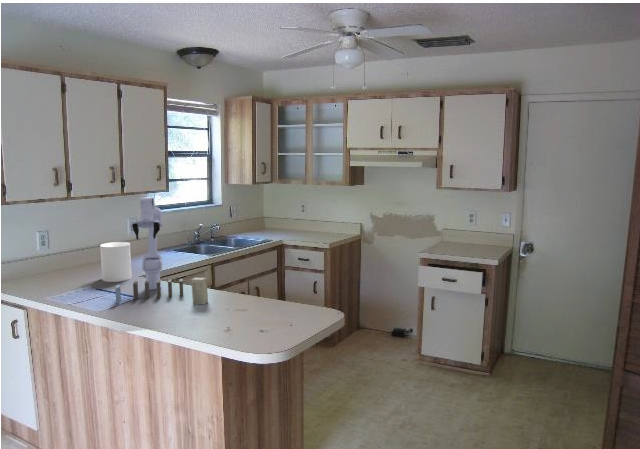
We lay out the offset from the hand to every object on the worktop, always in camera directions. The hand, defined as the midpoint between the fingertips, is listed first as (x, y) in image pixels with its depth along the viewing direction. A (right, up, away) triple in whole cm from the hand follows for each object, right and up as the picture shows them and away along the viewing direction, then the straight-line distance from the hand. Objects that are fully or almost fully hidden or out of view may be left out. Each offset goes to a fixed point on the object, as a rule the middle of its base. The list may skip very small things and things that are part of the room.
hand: (145, 237), depth 237 cm
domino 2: (-9, -31, +12) cm, 34 cm away
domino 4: (+2, -30, +15) cm, 34 cm away
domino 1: (-15, -31, +6) cm, 35 cm away
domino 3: (-4, -30, +14) cm, 34 cm away
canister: (-35, -25, +52) cm, 67 cm away
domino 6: (+12, -30, +18) cm, 37 cm away
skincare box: (+25, -32, +4) cm, 41 cm away
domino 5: (+7, -30, +16) cm, 35 cm away
